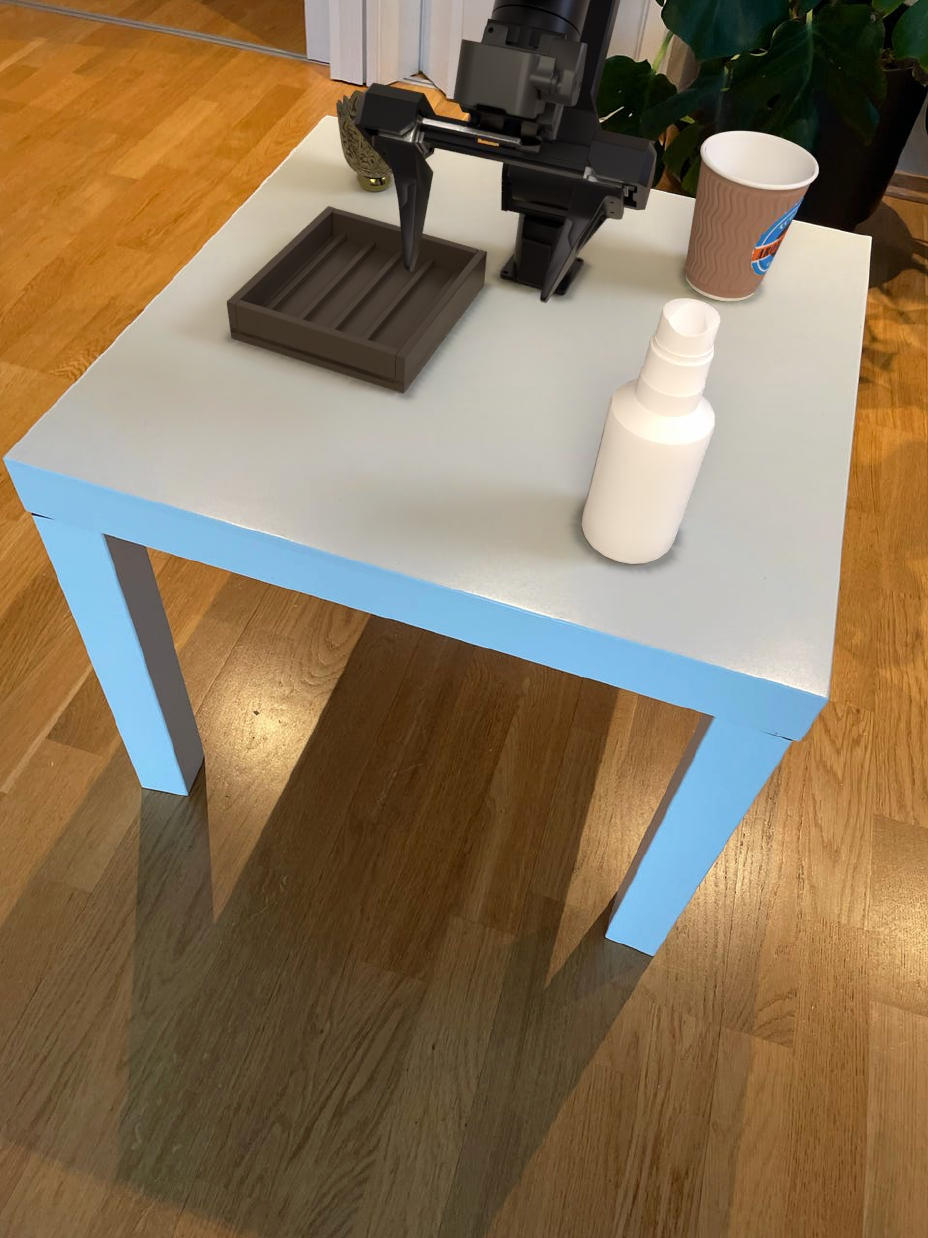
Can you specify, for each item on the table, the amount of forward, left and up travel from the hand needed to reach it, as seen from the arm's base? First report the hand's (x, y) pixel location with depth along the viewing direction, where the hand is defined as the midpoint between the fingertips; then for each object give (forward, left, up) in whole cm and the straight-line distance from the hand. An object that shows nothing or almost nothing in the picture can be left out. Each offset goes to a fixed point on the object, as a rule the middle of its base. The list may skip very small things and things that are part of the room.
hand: (475, 285), depth 62 cm
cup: (-35, -24, -14) cm, 44 cm away
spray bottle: (+2, +14, -14) cm, 20 cm away
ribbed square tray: (-14, -15, -14) cm, 25 cm away
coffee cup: (-35, +13, -14) cm, 40 cm away
